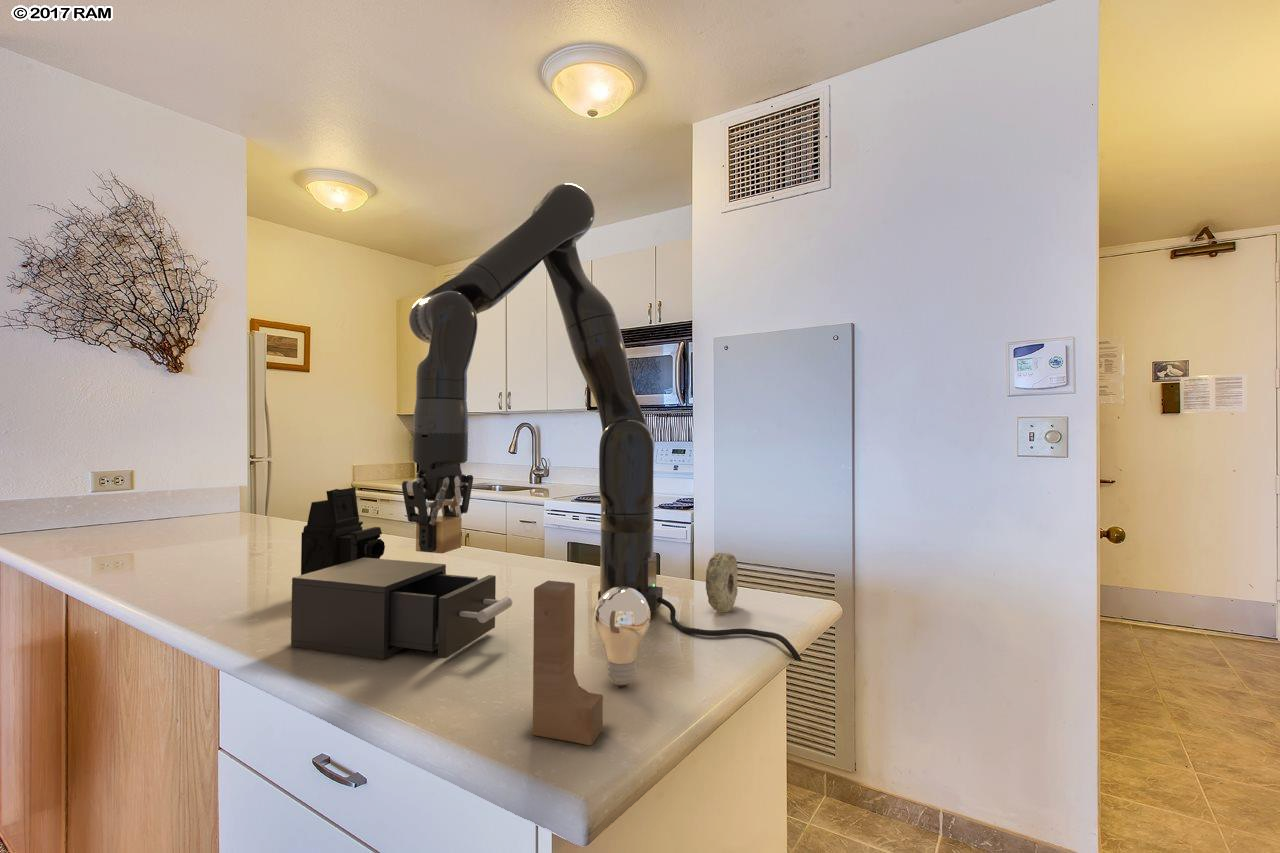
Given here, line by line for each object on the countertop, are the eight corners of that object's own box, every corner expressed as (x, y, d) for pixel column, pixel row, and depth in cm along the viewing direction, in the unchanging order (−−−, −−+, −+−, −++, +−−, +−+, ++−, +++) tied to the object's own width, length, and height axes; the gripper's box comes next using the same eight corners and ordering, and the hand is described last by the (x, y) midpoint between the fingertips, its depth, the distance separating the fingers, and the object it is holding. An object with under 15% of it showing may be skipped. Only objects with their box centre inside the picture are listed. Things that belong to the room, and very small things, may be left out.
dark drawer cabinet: (445, 626, 89) (446, 564, 89) (383, 659, 76) (384, 586, 76) (362, 616, 94) (363, 557, 94) (290, 646, 80) (291, 577, 80)
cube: (461, 547, 84) (461, 517, 84) (442, 553, 79) (443, 521, 79) (435, 545, 85) (435, 515, 85) (415, 551, 81) (416, 519, 81)
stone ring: (721, 620, 93) (721, 559, 93) (701, 616, 95) (701, 557, 95) (742, 604, 102) (742, 549, 102) (723, 601, 104) (723, 547, 104)
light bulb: (596, 672, 72) (597, 579, 73) (650, 673, 72) (651, 580, 72) (589, 698, 66) (590, 594, 66) (649, 699, 65) (650, 595, 65)
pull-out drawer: (521, 630, 85) (521, 577, 85) (475, 662, 73) (475, 601, 73) (413, 617, 90) (414, 568, 90) (354, 646, 78) (354, 589, 78)
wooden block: (531, 735, 57) (533, 587, 57) (546, 719, 60) (547, 579, 61) (591, 746, 55) (592, 593, 56) (603, 730, 58) (604, 585, 59)
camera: (359, 607, 98) (361, 492, 98) (292, 602, 101) (294, 489, 101) (395, 592, 108) (396, 487, 108) (333, 587, 111) (335, 485, 111)
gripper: (448, 430, 90) (446, 537, 90) (384, 429, 76) (382, 556, 76) (490, 431, 88) (488, 540, 88) (432, 430, 74) (429, 560, 74)
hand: (439, 547), depth 82 cm, fingers closed on cube, 4 cm apart
